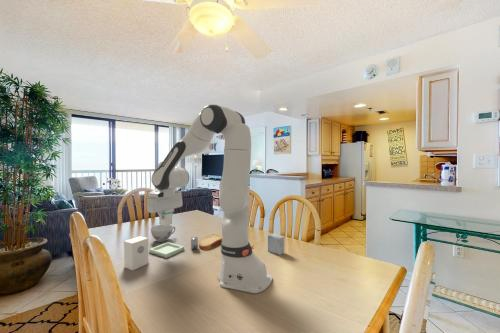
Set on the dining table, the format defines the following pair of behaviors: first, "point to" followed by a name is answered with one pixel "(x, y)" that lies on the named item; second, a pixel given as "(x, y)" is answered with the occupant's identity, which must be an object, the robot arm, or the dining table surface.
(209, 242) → the bread slice
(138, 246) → the cream tall block
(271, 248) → the medicine box
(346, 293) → the dining table surface
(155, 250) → the tray
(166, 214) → the teal band cartridge
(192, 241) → the cylinder
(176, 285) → the dining table surface
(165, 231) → the teacup
